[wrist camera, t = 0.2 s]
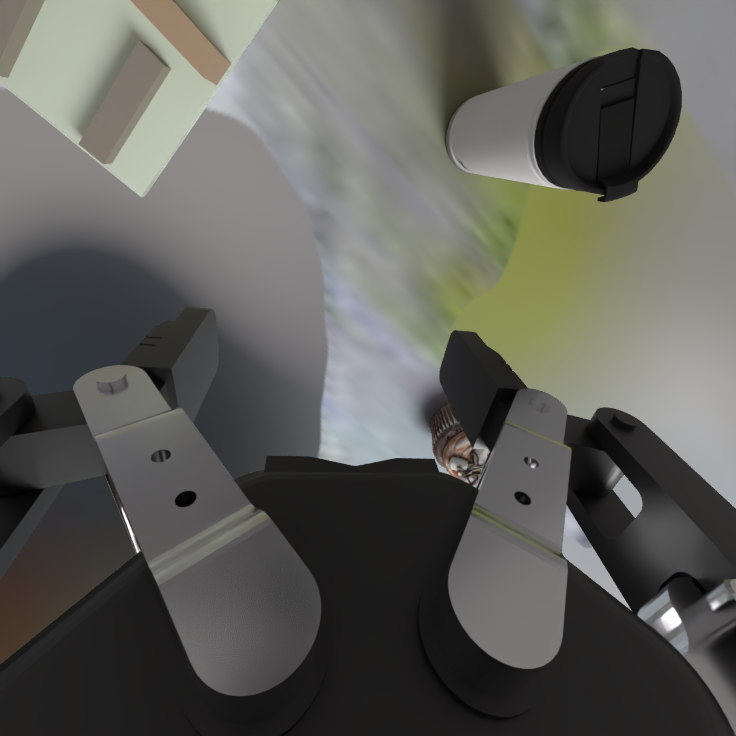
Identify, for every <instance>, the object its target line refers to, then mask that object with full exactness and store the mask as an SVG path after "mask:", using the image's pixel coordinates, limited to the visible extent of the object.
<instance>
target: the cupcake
mask: <svg viewBox="0 0 736 736" xmlns="http://www.w3.org/2000/svg"><path fill="white" fill-rule="evenodd" d="M430 427H431V433H432V448H433V453H434V456H435V457H436V459H437V461H438V463H439V464H440V465H441V466H443V467H444V468H446V470H447V471H448V472H449V473H450V474H451V475H452V476H454V477H456V478H459V479H461V480H463V481H465V482H467V483H469V484H470V485H472V486H474V485H476V483H477V480H478V478H479V475H480V473H481V471H482V468H483V466H484V463H485V461H486V459H487V456H488V454H489V452H490V451H489V449H473V448H472V446H471V444H470V442H469V440H468V438H467V436H466V434H465V432H464V430H463V428H462V426H461V424H460V422H459V420H458V418H457V416H456V414H455V412H454V410H453V408H452V406H451V404H450V403H449V404H446V405H444V406H443V407H441V408H440V410H438V411H437V412H436V413H435V414H434V416H433V417H432V419H431V424H430Z"/></svg>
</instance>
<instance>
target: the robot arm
mask: <svg viewBox="0 0 736 736" xmlns="http://www.w3.org/2000/svg"><path fill="white" fill-rule="evenodd" d="M218 363H219V348H218V338H217V327H216V317H215V312H214V310H213V309H207V308H195V307H187V308H185V309H184V311H183V312H182V313H181V314H180V316H179V317H178V318H177V319H176V320H175V321H166V322H164V323H162V324H160V325H158V326H156V327H154V328H153V329H152V330H151V331H150V332H149V333H148V335H147V336H146V338H144V339H143V340H142V341H141V342H140V343H139V345H138V346H137V347H136V348H135V349H134V350H133V351H132V352H131V353H130V354H129V356H128V357H127V358H126V359H125V360H124V361H123V362H122V363H121V364H120V365H117V366H109V367H104V368H100V369H97V370H94V371H91V372H89V373H87V374H85V375H84V376H82V377H81V378H79V379H78V380H77V381H76V383H75V385H74V388H73V389H74V390H71V391H64V392H56V393H48V394H39V395H32V396H31V394H30V392H29V390H28V388H27V386H26V384H25V383H24V381H22V380H20V379H17V378H12V377H0V580H1V579H2V577H3V575H4V574H5V573H6V571H7V570H8V568H9V567H10V565H11V564H12V562H13V561H14V559H15V558H16V556H17V555H18V553H19V552H20V550H21V549H22V547H23V546H24V544H25V543H26V541H27V540H28V538H29V537H30V535H31V534H32V532H33V531H34V529H35V528H36V526H37V524H38V523H39V522H40V520H41V519H42V517H43V516H44V514H45V512H46V511H47V510H48V508H49V507H50V505H51V503H52V502H53V501H54V499H55V497H56V496H57V495H58V493H59V492H60V490H61V489H62V487H63V486H64V484H65V483H69V482H74V481H79V480H84V479H88V478H93V477H98V476H102V475H105V476H106V479H107V481H108V484H109V487H110V489H111V492H112V494H113V496H114V499H115V501H116V504H117V506H118V509H119V511H120V514H121V516H122V518H123V521H124V523H125V526H126V528H127V531H128V533H129V536H130V538H131V541H132V544H133V546H134V549H135V552H136V555H135V556H133V557H132V558H131V559H130V560H128V561H127V562H126V563H125V564H123V565H122V566H121V567H120V568H119V569H118V570H116V571H115V572H114V573H112V574H111V575H110V576H109V577H107V578H106V579H105V580H104V581H103V582H101V583H100V584H99V585H98V586H96V587H95V588H94V589H93V590H91V591H90V592H89V593H88V594H87V595H85V596H84V597H83V598H82V599H80V600H79V601H78V602H77V603H76V604H74V605H73V606H72V607H71V608H69V609H68V610H67V611H66V612H64V613H63V614H62V615H61V616H60V617H58V618H57V619H56V620H55V621H53V622H52V623H51V624H50V625H48V626H47V627H46V628H45V629H44V630H42V631H41V632H40V633H39V634H37V635H36V636H35V637H34V638H32V639H31V640H30V641H29V642H28V643H26V644H25V645H24V646H23V647H21V648H20V649H19V650H18V651H17V652H15V653H14V654H13V655H12V656H10V657H9V658H8V659H7V660H5V661H4V662H3V663H2V664H0V736H736V509H735V508H734V507H733V506H732V505H731V504H730V503H729V502H728V501H727V500H726V499H725V498H723V497H722V496H721V495H720V494H719V493H718V492H717V491H716V490H715V489H714V488H713V487H711V485H709V484H708V483H707V482H706V481H705V480H704V479H703V478H702V477H701V476H700V475H699V474H698V473H697V472H695V471H694V470H693V469H692V468H691V467H690V466H689V465H688V464H687V463H686V462H685V461H683V460H682V459H681V458H680V457H679V456H678V455H677V454H676V453H675V452H674V451H673V450H672V449H671V448H670V447H669V446H667V445H666V444H665V443H664V442H663V441H662V440H661V439H660V438H659V437H658V436H657V435H656V434H655V433H653V432H652V431H651V430H650V429H649V428H648V427H647V426H646V425H645V424H644V423H642V422H641V421H640V420H638V419H637V418H635V417H633V416H631V415H630V414H627V413H625V412H623V411H620V410H617V409H613V408H605V407H604V408H599V409H597V411H596V412H595V414H594V415H593V417H592V418H591V420H587V419H583V418H579V417H575V416H571V415H567V409H566V407H565V406H564V405H563V404H562V403H561V402H560V401H559V400H558V399H556V398H555V397H553V396H551V395H550V394H547V393H545V392H542V391H539V390H536V389H528V388H527V386H526V385H525V384H524V383H523V382H522V380H521V379H520V378H519V377H518V376H517V375H516V373H515V372H514V371H512V369H511V368H510V366H509V365H508V364H506V362H505V360H504V359H503V358H502V357H501V356H500V355H499V354H498V353H497V352H495V351H494V350H492V349H491V348H489V347H488V346H487V345H486V344H485V343H484V342H483V341H482V339H481V338H480V337H479V336H478V335H477V333H475V332H469V331H457V330H455V331H453V332H452V333H451V335H450V338H449V341H448V344H447V348H446V351H445V354H444V358H443V361H442V364H441V368H440V383H441V386H442V388H443V390H444V392H445V394H446V396H447V398H448V400H449V402H450V404H451V406H452V408H453V410H454V412H455V414H456V416H457V418H458V420H459V422H460V424H461V426H462V428H463V430H464V432H465V434H466V436H467V438H468V440H469V442H470V444H471V446H472V448H473V449H489V451H490V452H489V454H488V456H487V459H486V461H485V463H484V466H483V468H482V471H481V473H480V475H479V478H478V480H477V483H476V485H475V487H474V486H472V485H470V484H469V483H467V482H465V481H463V480H461V479H459V478H456V477H454V476H451V475H448V474H445V473H442V472H439V470H438V467H437V465H436V462H435V459H412V458H394V459H389V460H384V461H379V462H374V463H369V464H364V465H359V466H352V465H347V464H342V463H337V462H333V461H328V460H324V459H319V458H314V457H301V456H267V459H266V464H265V469H264V470H259V471H255V472H252V473H249V474H246V475H243V476H240V477H238V478H236V479H233V478H232V477H231V475H230V474H229V473H228V471H227V470H226V468H224V466H223V464H222V463H221V462H220V460H219V459H218V457H217V456H216V455H215V453H214V452H213V451H212V449H211V448H210V446H209V445H208V444H207V442H206V441H205V440H204V438H203V437H202V435H201V434H200V432H199V431H198V430H197V428H196V427H195V426H194V424H193V421H194V419H195V417H196V415H197V413H198V410H199V408H200V406H201V404H202V402H203V400H204V397H205V395H206V393H207V391H208V389H209V387H210V384H211V382H212V380H213V378H214V376H215V374H216V371H217V368H218ZM623 475H625V476H626V477H627V478H628V480H629V481H630V482H631V483H632V484H633V485H634V487H635V488H636V489H637V490H638V492H639V493H640V495H641V497H642V501H643V507H642V510H641V512H640V513H639V515H638V516H637V517H636V518H634V517H633V515H632V514H631V513H630V511H629V510H628V509H627V508H626V506H625V505H624V504H623V502H622V501H621V500H620V499H619V497H618V496H617V495H616V493H615V492H614V491H613V488H614V487H615V485H616V484H617V483H618V481H619V480H620V479H621V478H622V476H623ZM566 504H567V506H568V508H569V509H570V511H571V513H572V514H573V516H574V517H575V519H576V521H577V522H578V524H579V526H580V527H581V529H582V530H583V532H584V534H585V535H586V537H587V539H588V540H589V542H590V543H591V545H592V547H593V548H594V550H595V551H596V553H597V555H598V556H599V558H600V559H601V561H602V563H603V565H604V566H605V568H606V569H607V571H608V572H609V574H610V576H611V577H612V579H613V581H614V582H615V584H616V586H617V587H618V589H619V590H620V592H621V594H622V595H623V597H624V599H625V600H626V602H627V603H628V605H629V607H630V608H631V610H632V611H631V610H630V609H628V608H627V607H626V606H625V605H623V604H622V603H621V602H619V601H618V600H617V599H616V598H615V597H613V596H612V595H611V594H609V593H608V592H607V591H606V590H604V589H603V588H602V587H601V586H599V585H598V584H597V583H596V582H594V581H593V580H592V579H591V578H589V577H588V576H587V575H586V574H584V573H583V572H582V571H581V570H579V569H578V568H577V567H575V566H574V565H573V564H572V563H570V562H569V561H568V560H567V559H566V558H565V557H564V556H563V554H562V542H563V533H564V522H565V512H566Z"/></svg>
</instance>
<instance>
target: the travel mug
mask: <svg viewBox="0 0 736 736" xmlns="http://www.w3.org/2000/svg"><path fill="white" fill-rule="evenodd" d="M681 107H682V91H681V85H680V79H679V77H678V74H677V72H676V69H675V67H674V66H673V64H672V63H671V61H670V60H669V59H668V58H667V57H666V56H665V55H664V54H662V53H661V52H660V51H656V50H648V49H640V50H638V49H635V48H628V49H623V50H619V51H616V52H612V53H609V54H606V55H604V56H598V57H593V58H590V59H587V60H584V61H580V62H577V63H574V64H571V65H568V66H565V67H562V68H559V69H556V70H553V71H550V72H547V73H544V74H541V75H538V76H535V77H532V78H529V79H526V80H522V81H519V82H516V83H513V84H510V85H507V86H504V87H501V88H498V89H495V90H492V91H489V92H486V93H483V94H480V95H477V96H474V97H472V98H470V99H468V100H466V101H465V102H464V103H462V104H461V105H460V107H459V108H458V109H457V110H456V111H455V113H454V114H453V116H452V118H451V120H450V123H449V126H448V129H447V136H446V146H447V151H448V154H449V157H450V159H451V161H452V162H453V163H454V165H455V166H456V167H458V168H459V169H461V170H462V171H465V172H469V173H474V174H480V175H485V176H491V177H497V178H502V179H508V180H513V181H519V182H525V183H530V184H536V185H542V186H548V187H553V188H559V189H569V190H571V189H572V190H576V191H585V192H590V193H596V194H602V195H604V196H603V197H599V198H598V201H601V202H608V201H612V200H616V199H619V198H622V197H625V196H628V195H630V194H632V193H634V192H636V191H637V187H638V181H639V180H640V179H642V178H643V177H644V176H645V175H647V174H648V173H649V172H650V171H651V170H652V169H653V168H654V167H655V165H656V164H657V163H658V162H659V161H660V159H661V158H662V156H663V155H664V153H665V152H666V150H667V149H668V147H669V145H670V143H671V141H672V138H673V137H674V134H675V131H676V128H677V125H678V122H679V118H680V112H681Z"/></svg>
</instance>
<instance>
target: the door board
mask: <svg viewBox="0 0 736 736" xmlns="http://www.w3.org/2000/svg"><path fill="white" fill-rule="evenodd" d="M278 1H279V0H0V83H1V84H2V85H3V86H5V87H6V88H7V89H8V90H9V91H11V92H12V93H13V94H14V95H16V96H17V97H18V98H19V99H21V100H22V101H23V102H24V103H26V104H27V105H28V106H29V107H31V108H32V109H33V110H34V111H35V112H37V113H38V114H39V115H40V116H42V117H43V118H44V119H45V120H47V121H48V122H49V123H50V124H52V125H53V126H54V127H55V128H56V129H58V130H59V131H60V132H61V133H63V134H64V135H65V136H66V137H68V138H69V139H70V140H71V141H72V142H74V143H75V144H76V145H77V146H79V147H80V148H81V149H82V150H84V151H85V152H86V153H87V154H88V155H90V156H91V157H92V158H93V159H95V160H96V161H97V162H98V163H100V164H101V165H102V166H103V167H105V168H106V169H107V170H108V171H109V172H111V173H112V174H113V175H115V176H116V177H117V178H118V179H120V180H121V181H122V182H123V183H124V184H126V185H127V186H128V187H129V188H130V189H132V190H133V191H134V192H135V193H137V194H138V195H139V196H140V197H143V196H146V194H147V193H148V191H149V190H150V188H151V187H152V185H153V184H154V182H155V181H156V179H157V178H158V176H159V175H160V174H161V172H162V171H163V169H164V168H165V166H166V165H167V163H168V162H169V160H170V159H171V158H172V156H173V154H174V153H175V152H176V150H177V149H178V147H179V146H180V144H181V143H182V142H183V140H184V139H185V137H186V136H187V134H188V133H189V131H190V130H191V128H192V127H193V125H194V124H195V123H196V121H197V120H198V118H199V117H200V115H201V113H202V112H203V111H204V109H205V108H206V106H207V105H208V104H209V102H210V101H211V99H212V98H213V96H214V95H215V93H216V92H217V90H218V89H219V88H220V86H221V85H222V83H223V82H224V80H225V79H226V77H227V76H228V74H229V73H230V71H231V70H232V69H233V67H234V66H235V64H236V63H237V61H238V60H239V58H240V57H241V55H242V54H243V52H244V51H245V50H246V48H247V47H248V45H249V44H250V42H251V41H252V39H253V38H254V36H255V35H256V33H257V32H258V31H259V29H260V28H261V26H262V25H263V23H264V22H265V20H266V19H267V17H268V16H269V15H270V13H271V12H272V10H273V9H274V7H275V6H276V4H277V3H278Z"/></svg>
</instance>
